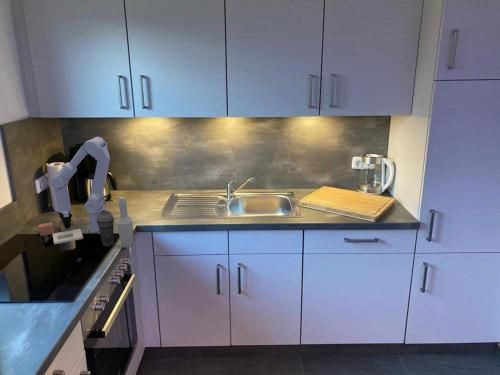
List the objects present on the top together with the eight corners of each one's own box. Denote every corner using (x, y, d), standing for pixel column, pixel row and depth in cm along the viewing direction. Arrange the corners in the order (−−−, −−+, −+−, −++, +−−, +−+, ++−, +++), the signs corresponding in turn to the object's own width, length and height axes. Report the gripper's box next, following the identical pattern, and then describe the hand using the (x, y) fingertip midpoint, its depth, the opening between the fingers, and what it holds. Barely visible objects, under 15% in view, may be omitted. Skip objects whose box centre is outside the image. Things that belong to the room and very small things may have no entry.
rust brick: (40, 233, 194) (38, 224, 192) (54, 230, 196) (52, 222, 195) (40, 236, 190) (38, 227, 189) (54, 233, 193) (53, 224, 192)
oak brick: (60, 229, 198) (59, 220, 196) (74, 226, 200) (72, 218, 199) (61, 231, 194) (60, 223, 193) (75, 229, 197) (73, 220, 196)
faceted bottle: (137, 242, 180) (131, 195, 174) (132, 248, 174) (127, 200, 168) (122, 242, 181) (117, 195, 174) (118, 249, 175) (111, 200, 168)
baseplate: (80, 230, 195) (79, 228, 195) (83, 238, 186) (82, 236, 186) (52, 235, 190) (52, 233, 190) (54, 244, 181) (53, 242, 180)
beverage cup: (106, 240, 184) (100, 197, 178) (120, 241, 182) (115, 199, 176) (96, 246, 177) (89, 203, 171) (110, 248, 175) (104, 204, 169)
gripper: (52, 197, 197) (57, 223, 201) (54, 205, 185) (59, 233, 189) (68, 194, 200) (72, 220, 204) (71, 202, 188) (75, 230, 192)
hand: (67, 226), depth 197 cm, fingers closed on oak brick, 4 cm apart
